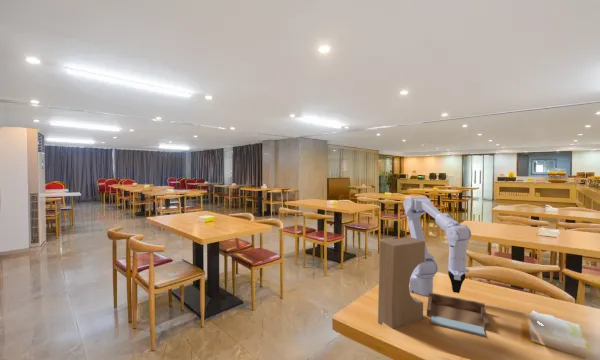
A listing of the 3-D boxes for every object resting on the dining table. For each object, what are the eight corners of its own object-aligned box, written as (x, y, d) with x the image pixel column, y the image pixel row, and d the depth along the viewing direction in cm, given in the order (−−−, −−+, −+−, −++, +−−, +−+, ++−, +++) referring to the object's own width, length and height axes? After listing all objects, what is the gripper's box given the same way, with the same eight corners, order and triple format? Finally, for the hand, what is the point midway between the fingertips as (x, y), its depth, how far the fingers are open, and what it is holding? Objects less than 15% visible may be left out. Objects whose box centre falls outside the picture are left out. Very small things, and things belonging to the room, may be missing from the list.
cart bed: (426, 320, 102) (427, 306, 102) (428, 304, 114) (428, 292, 114) (488, 335, 93) (489, 320, 93) (483, 315, 106) (484, 303, 105)
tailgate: (431, 318, 102) (430, 325, 97) (431, 314, 102) (430, 322, 97) (483, 330, 95) (485, 339, 90) (483, 326, 94) (485, 335, 90)
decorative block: (392, 333, 94) (394, 246, 93) (377, 322, 100) (379, 240, 99) (423, 322, 100) (425, 241, 99) (406, 313, 107) (409, 236, 106)
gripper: (471, 264, 96) (469, 302, 97) (468, 253, 109) (467, 287, 110) (448, 261, 100) (446, 297, 100) (448, 250, 112) (446, 283, 113)
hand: (455, 292), depth 105 cm, fingers closed
